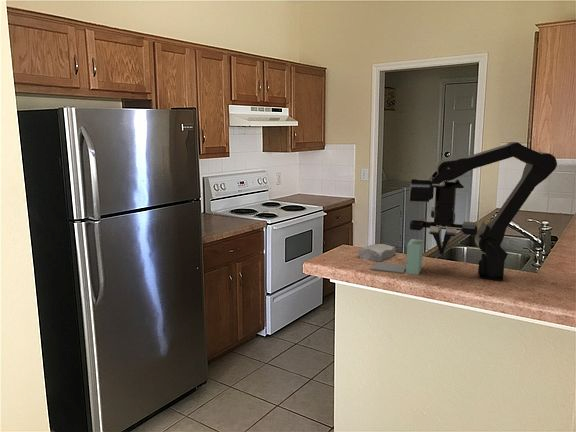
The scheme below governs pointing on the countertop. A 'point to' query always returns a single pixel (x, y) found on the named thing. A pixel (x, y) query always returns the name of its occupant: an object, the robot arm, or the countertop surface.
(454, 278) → the countertop surface
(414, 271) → the slab
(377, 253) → the stone block
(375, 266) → the mat
